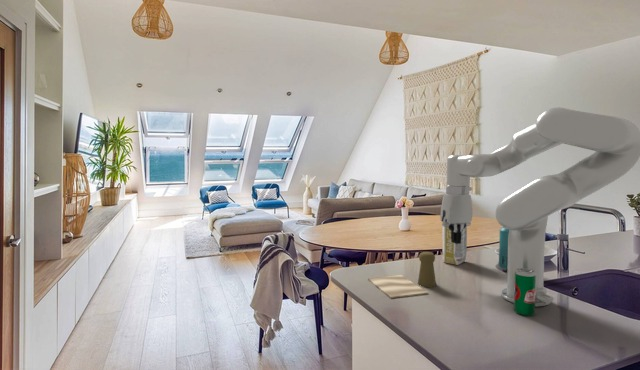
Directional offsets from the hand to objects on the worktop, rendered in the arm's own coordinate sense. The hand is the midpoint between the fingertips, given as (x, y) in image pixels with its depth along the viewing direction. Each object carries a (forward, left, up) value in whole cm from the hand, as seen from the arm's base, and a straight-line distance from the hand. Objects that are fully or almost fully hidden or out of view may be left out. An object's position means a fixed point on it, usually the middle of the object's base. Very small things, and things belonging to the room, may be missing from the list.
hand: (456, 242), depth 124 cm
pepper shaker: (-1, +12, -14) cm, 18 cm away
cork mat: (0, +23, -13) cm, 26 cm away
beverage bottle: (+3, -25, -14) cm, 29 cm away
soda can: (-29, -1, -14) cm, 32 cm away
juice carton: (+19, -13, -14) cm, 27 cm away
